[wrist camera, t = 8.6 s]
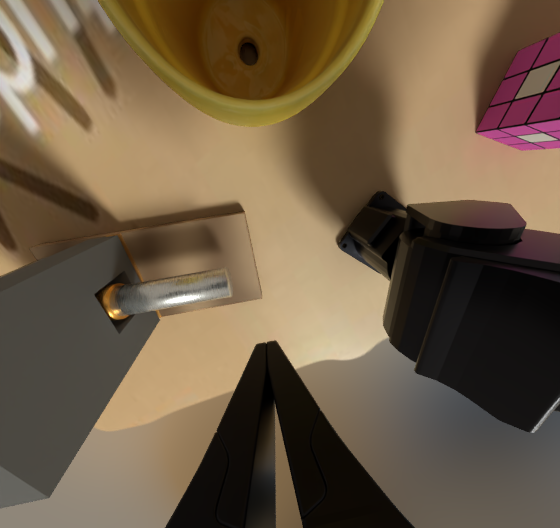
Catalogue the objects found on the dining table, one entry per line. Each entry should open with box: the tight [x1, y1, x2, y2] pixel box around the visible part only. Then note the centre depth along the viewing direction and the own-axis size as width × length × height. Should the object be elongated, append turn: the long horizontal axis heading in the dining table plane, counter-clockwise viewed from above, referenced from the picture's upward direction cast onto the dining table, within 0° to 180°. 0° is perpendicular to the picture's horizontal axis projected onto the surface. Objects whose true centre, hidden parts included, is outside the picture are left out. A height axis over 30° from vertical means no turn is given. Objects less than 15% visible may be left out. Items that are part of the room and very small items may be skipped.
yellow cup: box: [98, 0, 384, 127], centre depth 10 cm, size 10×10×10 cm
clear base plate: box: [29, 211, 262, 318], centre depth 20 cm, size 18×9×1 cm, turn 98°
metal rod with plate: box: [0, 258, 233, 321], centre depth 16 cm, size 16×7×8 cm, turn 98°
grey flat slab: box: [0, 235, 160, 508], centre depth 13 cm, size 2×9×12 cm, turn 8°
